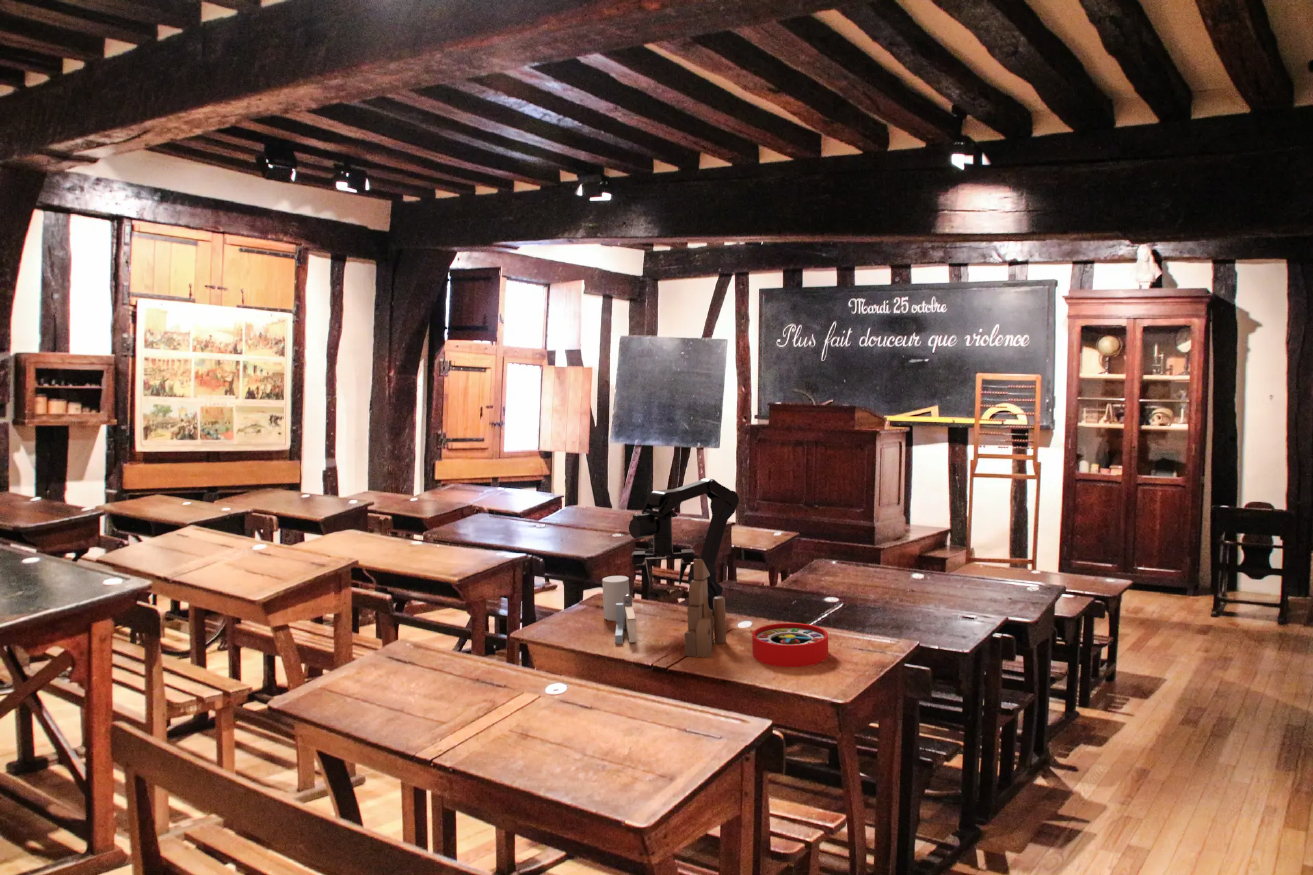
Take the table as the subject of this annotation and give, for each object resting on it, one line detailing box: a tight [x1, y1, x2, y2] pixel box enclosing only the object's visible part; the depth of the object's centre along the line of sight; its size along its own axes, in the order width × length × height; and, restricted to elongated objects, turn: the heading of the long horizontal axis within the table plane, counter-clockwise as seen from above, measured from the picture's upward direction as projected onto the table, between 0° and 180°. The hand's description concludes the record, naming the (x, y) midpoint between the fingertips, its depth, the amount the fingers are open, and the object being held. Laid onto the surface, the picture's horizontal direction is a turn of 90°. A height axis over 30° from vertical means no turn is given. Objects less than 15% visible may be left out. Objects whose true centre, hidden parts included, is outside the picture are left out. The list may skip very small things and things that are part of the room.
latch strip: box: [614, 603, 625, 645], centre depth 281 cm, size 2×14×8 cm, turn 0°
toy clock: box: [751, 622, 829, 668], centre depth 260 cm, size 20×6×20 cm
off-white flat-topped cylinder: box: [601, 575, 630, 622], centre depth 301 cm, size 8×8×12 cm
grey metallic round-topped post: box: [623, 594, 633, 631], centre depth 290 cm, size 4×4×10 cm
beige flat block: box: [625, 605, 637, 643], centre depth 281 cm, size 13×2×7 cm, turn 6°
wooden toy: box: [684, 558, 727, 658], centre depth 267 cm, size 15×7×25 cm, turn 157°
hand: (664, 585), depth 291 cm, fingers open, 9 cm apart
